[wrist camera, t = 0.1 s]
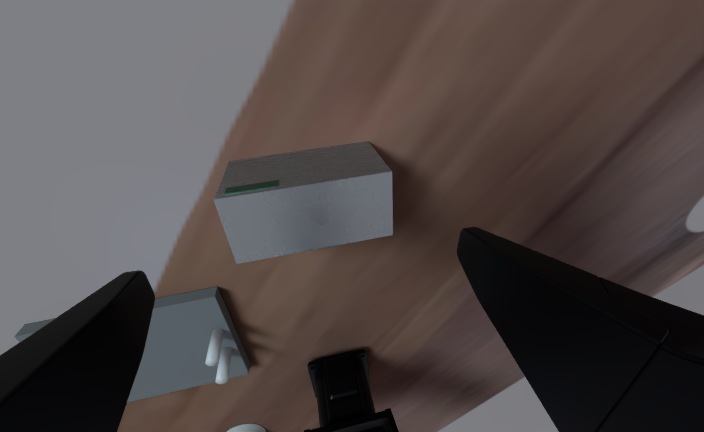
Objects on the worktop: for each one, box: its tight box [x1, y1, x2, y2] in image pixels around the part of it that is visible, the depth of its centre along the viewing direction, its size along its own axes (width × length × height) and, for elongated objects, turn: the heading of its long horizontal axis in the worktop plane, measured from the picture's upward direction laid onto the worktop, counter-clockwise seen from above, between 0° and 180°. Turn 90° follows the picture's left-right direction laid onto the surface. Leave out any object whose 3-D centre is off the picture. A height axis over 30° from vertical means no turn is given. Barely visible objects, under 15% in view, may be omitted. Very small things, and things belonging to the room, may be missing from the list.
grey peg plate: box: [15, 287, 250, 402], centre depth 27 cm, size 11×15×4 cm
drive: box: [214, 141, 393, 264], centre depth 21 cm, size 5×10×6 cm, turn 95°
